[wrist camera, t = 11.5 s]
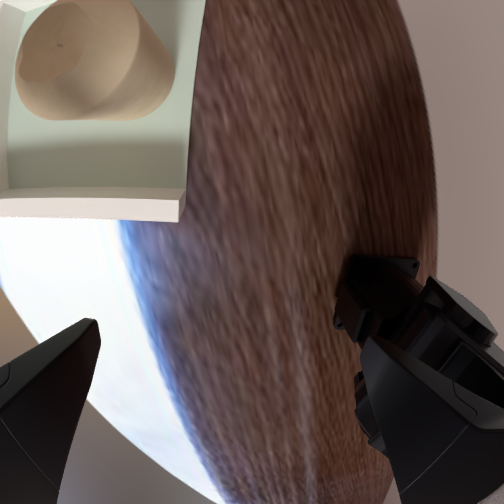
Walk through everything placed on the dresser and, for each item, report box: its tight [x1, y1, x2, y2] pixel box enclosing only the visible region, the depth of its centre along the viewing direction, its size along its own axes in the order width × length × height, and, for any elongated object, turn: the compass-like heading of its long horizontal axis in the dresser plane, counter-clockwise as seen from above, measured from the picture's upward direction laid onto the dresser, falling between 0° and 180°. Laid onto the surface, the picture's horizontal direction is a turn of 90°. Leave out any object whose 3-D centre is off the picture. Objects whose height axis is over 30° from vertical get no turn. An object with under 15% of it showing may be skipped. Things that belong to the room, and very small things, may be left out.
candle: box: [15, 0, 175, 121], centre depth 11 cm, size 6×6×10 cm
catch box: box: [0, 0, 206, 222], centre depth 14 cm, size 15×16×4 cm
